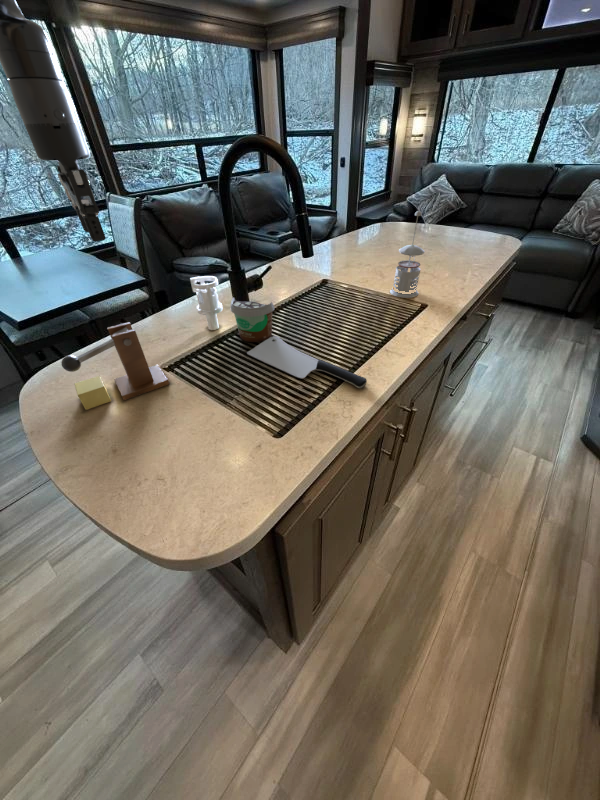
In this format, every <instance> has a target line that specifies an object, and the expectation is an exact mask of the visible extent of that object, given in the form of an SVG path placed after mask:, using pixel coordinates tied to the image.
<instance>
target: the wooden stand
mask: <svg viewBox="0 0 600 800" xmlns="http://www.w3.org/2000/svg"><path fill="white" fill-rule="evenodd" d="M125 327H126V328H127V329H128V331H124V332H120V333H117V334H113V333H115V332H117V331H119V330H121V329H123V328H125ZM106 329H107V331H108V333H109V336H110V338H111V339H113V341H114V343H115V346H114V348H115V351H116V352H117V355H118V357H119V359H120V362H121V364H122V366H123V369H124V371H125V375H122V376H119V377H115V378H113V380H114V383H115V385H116V387H117V389H118V391H119V393H120V395H121V398H122V399H123V401H126V400H129V399H132V398H135V397H138V396H140V395H143V394H145V393H146V394H147V393H148V392H151V391H155V390H158V389H160V388H162V387H165V386H169V385H170V381H169V379H168V377H167V376H166V375H165V373H164V371H163V370H162V368H160V366H159V364H154V365H152V366H150V367H149V364H148V361H147V359H146V356H145V353H144V350H143V348H142V345H141V342H140V339H139V336H138V334H137V332H136V329H135V328H133V327H132V324H131V322H130V321H127V322H123V323H120V324H116V325H112V326H107V328H106Z"/></svg>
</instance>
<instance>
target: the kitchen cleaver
mask: <svg viewBox="0 0 600 800" xmlns="http://www.w3.org/2000/svg"><path fill="white" fill-rule="evenodd" d="M246 354H247V355H248V356H250V357H252V358H253V359H256V360H258V361H260V362H263V363H264V364H267V365H269V366H271V367H273V368H276V369H278V370H280V371H282V372H283V373H286V374H288V375H291V376H292V377H295V378H298V379H302V380H304V379H305V378H306V377H307V376H308V375H309V374H311V372H313V371H316V372H322V373H325V374H328V375H330V376H332V377H335V378H337V379H340V380H341V381H344V382H346V383H348V384H351V385H352V386H354V387H355V388H357V389H363V388H364V387H366V385H367V381H368V380H367V377H364V376H361V375H360V374H356V373H353V372H351V371H348V370H346V369H344V368H341V367H339V366H336V365H335V364H333V363H330V362H327V361H324V360H321V359H318V358H315V357H313V356H311V355H309V354H306V353H304V352H302V351H300V350H299V349H296V348H294V347H293V346H291V345H290V344H288V343H287V342H285V341H284V340H283V339H282V338H281V337H279V336H277V335H272V336H271V337H270V338H268V339H267V340H264V341H261V343H259V344H258V345H256V346H255V347H253V348H252V349H250V350H248V351H247V352H246Z"/></svg>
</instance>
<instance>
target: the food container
mask: <svg viewBox="0 0 600 800" xmlns="http://www.w3.org/2000/svg"><path fill="white" fill-rule="evenodd" d="M274 311H275V304H274V303H273V301H271V302H269V303H268V304H265V303H259V302H256V301H241V300H236V299H235V297H232V298H231V301H230V312H232V314H233V315H234V318H235V323H236V326H237V329H238V334H239V337H240V339H241V340H243V341H244V342H248V343H260V342H264V341H265V340H267V339H269V338H270V337H272V336H273V312H274Z"/></svg>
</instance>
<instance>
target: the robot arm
mask: <svg viewBox="0 0 600 800" xmlns="http://www.w3.org/2000/svg"><path fill="white" fill-rule="evenodd" d="M0 64H1V67H2V69H3V72H4V74H5V76H6V79H7V80H8V84H9V87H10V90H11V95H12V97H13V100H14V103H15V106H16V108H17V110H18V113H19V116H20V117H21V119H22V122H23V124H24V127H25V129H26V132H27V135H28V136H29V139H30V141H31V144H32V146H33V148H34V151H35V153H36V156H37V157H38V159H39V160H41V161H44V162H45V161H46V162H48V161H49V162H50V161H51V162H53V161H55V162H56V163H58V165H56V167H57V168H56V170H57V172H58V173H57V177H58V180H59V182H60V184H61V186H62V187H63V189H64V192H65V195H66V197H67V199H68V200H69V203H70V204H71V206H72V208H73V209H74V211H76V214H77V217H78V219H79V221H80V224H81V227H82V229H83V231H84V232H85V233H88V234H89V236H90V239H91V240H92V241H93V242H100V241H101V242H102V241H105V240H106V239H107V238H106V234H105V232H104V229H103V226H102V224H101V221H100V218H99V214H100V208H99V206H98V205H97V203H96V198H95V195H94V192H93V190H92V188H91V184H90V179H89V177H88V174H87V172H86V171H85V170H84V169H83V168H80V165H79V163H78V161H79V160H86V159H90V157H91V152H90V149H89V146H88V144H87V140H86V136H85V135H84V131H83V129H82V126H81V123H80V120H79V117H78V114H77V111H76V107H75V105H74V102H73V100H72V98H71V95H70V93H69V91H68V88H67V86H66V83H65V82H64V78H63V75H62V73H61V69H60V66H59V63H58V61H57V57H56V54H55V51H54V49H53V46H52V43H51V41H50V39H49V37H48V35H47V33H46V31H45V30H44V29H43V27H42V26H41V25H39V24H38V23H37V22H35V21H33V20H30V19H27V18H25V16H24V14H23V13H22V10H21V8H20V7H19V5H18V3H17V1H16V0H0Z"/></svg>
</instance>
